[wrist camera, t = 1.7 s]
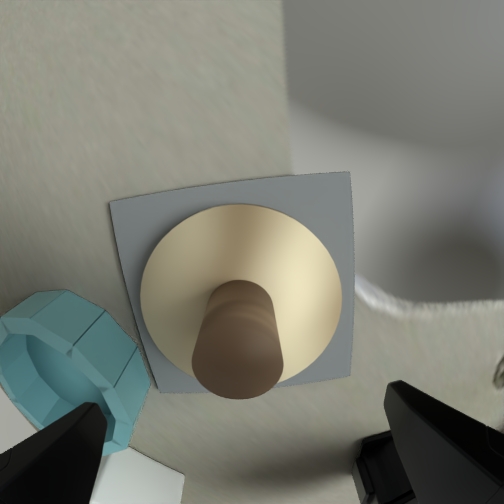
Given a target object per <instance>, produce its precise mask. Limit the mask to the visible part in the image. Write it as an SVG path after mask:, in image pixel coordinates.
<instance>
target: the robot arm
mask: <svg viewBox="0 0 504 504" xmlns="http://www.w3.org/2000/svg"><path fill="white" fill-rule="evenodd" d="M384 409H385V412H386V416H387V419H388V422H389V426H390V429H391V432H388V433H385V434H381V435H378V436H374V437H370V438H367V439H365V440H363V441H362V442H361V445H360V449H359V453H358V457H357V458H356V459H355V461H354V465H353V469H352V476H353V479H354V483H355V486H356V490H357V493H358V496H359V500H360V503H361V504H504V433H502V432H499V431H497V430H495V429H493V428H491V427H489V426H486V425H485V424H483V423H481V422H479V421H477V420H475V419H473V418H471V417H469V416H467V415H465V414H464V413H462V412H460V411H458V410H456V409H454V408H452V407H450V406H448V405H446V404H445V403H443V402H441V401H439V400H437V399H435V398H433V397H431V396H430V395H428V394H426V393H424V392H422V391H420V390H419V389H417V388H415V387H413V386H411V385H410V384H408V383H406V382H404V381H402V380H398V381H394V382H390V383H389V384H388V385H387V389H386V394H385V399H384ZM107 426H108V423H107V419H106V417H105V415H104V414H103V412H102V410H101V408H100V406H99V405H98V404H97V403H95V402H88V401H87V402H84V403H83V404H81V405H79V406H78V407H76V408H75V409H73V410H72V411H70V412H69V413H67V414H65V415H64V416H62V417H61V418H59V419H58V420H56V421H54V422H53V423H51V424H50V425H48V426H46V427H45V428H43V429H42V430H40V431H38V432H37V433H35V434H33V435H32V436H30V437H29V438H27V439H25V440H24V441H22V442H20V443H19V444H17V445H15V446H14V447H13V448H10V449H9V450H7V451H5V452H4V453H2V454H0V504H89V503H90V499H91V495H92V492H93V488H94V484H95V481H96V477H97V474H98V470H99V467H100V463H101V458H102V453H103V447H104V442H105V437H106V431H107Z"/></svg>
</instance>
